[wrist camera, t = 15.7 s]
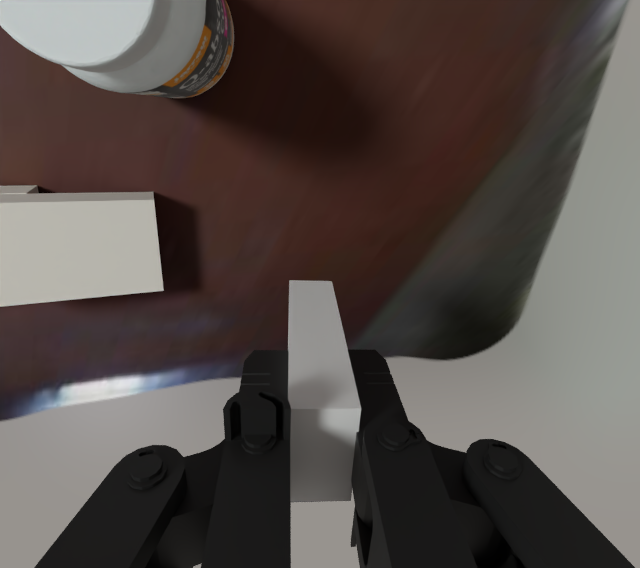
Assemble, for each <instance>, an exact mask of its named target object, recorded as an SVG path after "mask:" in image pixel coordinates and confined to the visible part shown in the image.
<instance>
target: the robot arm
mask: <svg viewBox="0 0 640 568" xmlns="http://www.w3.org/2000/svg"><path fill="white" fill-rule="evenodd" d="M223 413H224V428H225V429H224V430H225V439H224V440H223V441H222V442H221V443H220V444H218V445H216V446H215V447H213V448H211V449H209V450H206V451H204V452H201V453H197V454H194V455H190V456H186V457H183V456H182V455H181V454H180V453H179V452H178V451H177V449H174V448H171V447H169V446H166V445H152V446H148V447H144V448H140V449H137V450H136V451H134V452H132V453H130V454H128V455H126V456H125V457H124V458H123V459H122V460H121V461H120V462H119V463H117V464H116V466H114V468H113V469H112V470H111V472H110V473H109V474H108V475H107V477H106V478H105V479H104V480H103V482H102V483H101V484H100V485H99V487H98V488H97V489H96V491H95V492H94V493H93V494H92V496H91V497H90V498H89V499H88V501H87V502H86V503H85V504H84V506H83V507H82V508H81V509H80V511H79V512H78V513H77V514H76V516H75V517H74V518H73V520H72V521H71V522H70V523H69V525H68V526H67V527H66V528H65V530H64V531H63V532H62V534H61V535H60V536H59V537H58V538H57V540H56V541H55V542H54V544H53V545H52V546H51V547H50V549H49V550H48V551H47V552H46V554H45V555H44V556H43V558H42V559H41V560H40V561H39V562H38V564H37V565H36V566H35V568H193V566H195V565H198V564H201V563H202V564H201V568H291V566H290V563H291V558H290V502H314V501H315V502H316V501H350V500H351V493H352V488H353V494H354V501H355V511H354V519H353V528H352V536H351V547H354V546H356V544H357V551H358V558H359V564H360V568H635V567H634V566H633V565H632V564H631V563H630V562H629V561H628V560H627V559H626V558H625V557H624V556H623V555H622V554H621V553H620V552H619V550H617V548H616V547H615V546H614V545H613V544H612V543H611V542H610V541H609V540H608V539H607V538H606V537H605V536H604V535H603V534H602V533H601V532H600V531H599V530H598V529H597V528H596V527H595V526H594V525H593V524H592V523H591V522H590V521H589V520H588V518H587V517H586V516H585V515H584V514H583V513H582V512H581V511H580V510H579V509H578V508H577V507H576V506H575V505H574V504H573V503H572V502H571V501H570V500H569V499H568V498H567V497H566V496H565V495H564V494H563V493H562V492H561V491H560V490H559V489H558V488H557V486H556V485H555V484H554V483H553V482H552V481H551V480H550V479H549V478H548V477H547V476H546V475H545V474H544V473H543V472H542V471H541V470H540V469H539V468H538V467H537V466H536V465H535V464H534V463H533V462H532V461H531V460H530V459H529V458H528V457H527V456H526V455H525V454H524V453H522V452H521V451H520V450H519V449H517V448H515V447H513V446H511V445H509V444H507V443H505V442H502V441H498V440H494V439H480V440H478V441H476V442H474V443H472V444H471V445H470V447H469V448H468V450H467V453H465V452H460V451H456V450H452V449H448V448H444V447H441V446H438V445H435V444H433V443H431V442H429V441H427V440H426V438H425V437H424V435H423V434H422V432H421V431H420V429H419V428H417V427H416V426H415V425H413V424H412V423H411V422H409V421H408V419H407V416H406V413H405V411H404V408H403V405H402V402H401V400H400V397H399V394H398V392H397V389H396V386H395V384H394V381H393V378H392V375H391V374H390V370H389V368H388V365H387V362H386V360H385V359H384V358H383V357H382V356H381V355H380V354H379V353H378V352H377V351H376V350H348V349H347V345H346V341H345V336H344V332H343V328H342V323H341V319H340V315H339V310H338V306H337V302H336V298H335V293H334V289H333V285H332V281H294V280H289V328H288V351H277V350H254V351H253V352H252V353H251V354H250V355H249V357H248V358H247V359H246V360H245V362H244V368H243V374H242V379H241V386H240V390H239V393H236V394H235V395H234V396H233V397H231V398H230V399H229V400H228V401H227V403H226V405H225V407H224V409H223Z"/></svg>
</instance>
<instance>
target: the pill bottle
mask: <svg viewBox="0 0 640 568" xmlns="http://www.w3.org/2000/svg"><path fill="white" fill-rule="evenodd" d="M0 26H1V27H2V28H3V29H4V30H5V31H6V32H7V33H8V34H9V35H11V36H12V37H13V38H14V39H15V40H16V41H17V42H19V43H20V44H21V45H23V46H24V47H26V48H27V49H29V50H30V51H32V52H34V53H35V54H37V55H39V56H41V57H43V58H45V59H47V60H49V61H52V62H54V63H57V64H61V65H62V66H63V67H65V68H66V69H67V70H68V71H70V72H71V73H73V74H74V75H76V76H77V77H79V78H81V79H82V80H84V81H86V82H88V83H90V84H92V85H94V86H96V87H99V88H102V89H105V90H109V91H115V92H120V93H132V94H142V95H151V96H159V97H168V98H188V97H193V96H197V95H200V94H201V93H203V92H205V91H207V90H208V89H210V88H211V87H213V86H214V85H215V84H216V83H217V82H218V81H219V80H220V79H221V77H222V76H223V75H224V73H225V71H226V69H227V67H228V65H229V63H230V60H231V57H232V52H233V46H234V27H233V21H232V16H231V13H230V10H229V6H228V4H227V2H226V0H0Z"/></svg>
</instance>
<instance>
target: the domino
mask: <svg viewBox="0 0 640 568" xmlns="http://www.w3.org/2000/svg"><path fill="white" fill-rule="evenodd" d="M156 291H164V289H163V279H162V270H161V260H160V251H159V242H158V232H157V223H156V213H155V204H154V194H153V192H108V193H35V194H0V307H2V306H12V305H23V304H33V303H43V302H53V301H64V300H74V299H84V298H94V297H105V296H115V295H125V294H135V293H146V292H156Z"/></svg>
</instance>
